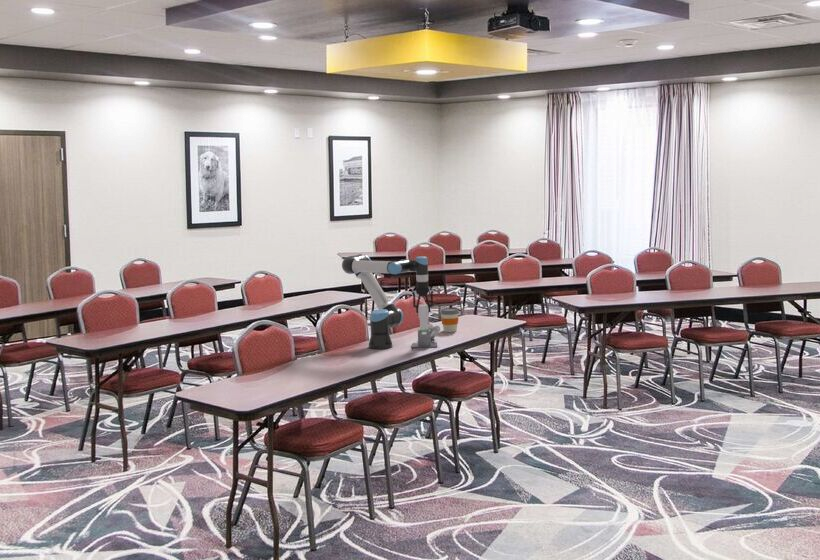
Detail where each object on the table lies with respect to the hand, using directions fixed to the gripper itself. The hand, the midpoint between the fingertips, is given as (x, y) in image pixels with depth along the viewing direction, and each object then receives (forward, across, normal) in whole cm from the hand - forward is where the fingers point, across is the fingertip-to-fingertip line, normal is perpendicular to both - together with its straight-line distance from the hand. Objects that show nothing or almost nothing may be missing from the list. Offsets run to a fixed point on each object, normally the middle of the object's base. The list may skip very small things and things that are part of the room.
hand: (423, 317), depth 548 cm
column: (+10, 0, 0) cm, 10 cm away
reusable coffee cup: (+18, +18, +51) cm, 57 cm away
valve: (+19, +2, +17) cm, 25 cm away
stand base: (+18, 0, 0) cm, 18 cm away
